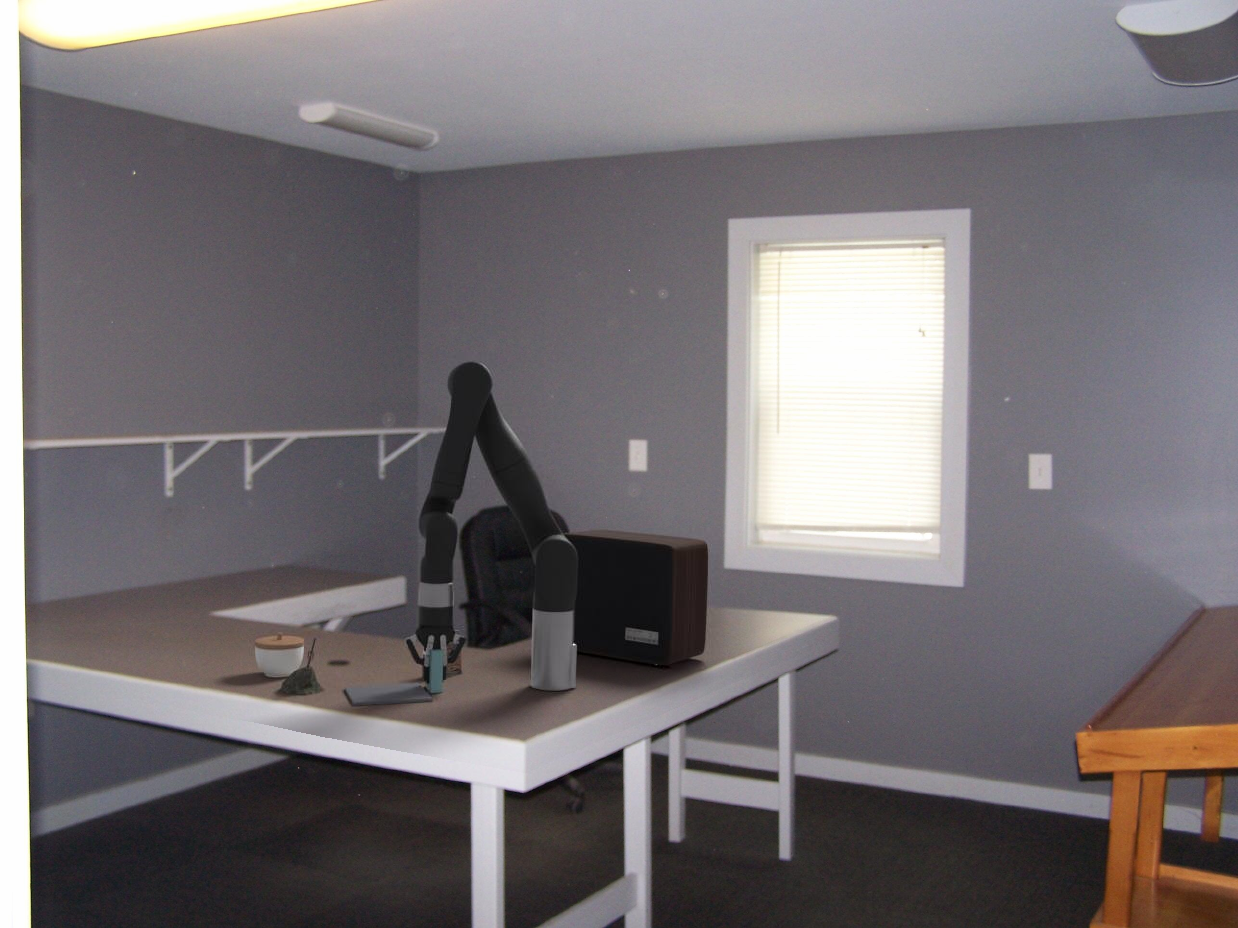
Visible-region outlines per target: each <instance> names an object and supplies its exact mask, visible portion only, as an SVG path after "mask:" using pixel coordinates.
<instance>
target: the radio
mask: <svg viewBox="0 0 1238 928" xmlns="http://www.w3.org/2000/svg"><path fill="white" fill-rule="evenodd" d="M562 533H563V532H562ZM563 534H564V536H565V537H566V538H567V540H568V541H569V542H570V543H572V545H573V546H574V547H575V549H576V551H577V555H578V576H577V595H576V600H575V619H574V644H576V645H577V652H579V653H585V654H591V655H596V656H602V657H609V658H613V659H618V660H626V661H632V662H637V663H638V662H639V663H644V664H652V665H655V664H657V665H658V666H668V665H673V664H675V663H679V662H681V661H685V660H688V659H691V658H694V657H697V656H701V655H703V654H704V652H705V648H706V638H707V637H706V634H707V614H708V613H707V612H708V580H709V549H708V543H707V542H706V541H704V540H703V539H697V538H689V537H683V536H682V537H681V536H674V535H664V534H652V533H643V532H642V533H641V532H631V531H630V532H629V531H619V530H610V529H609V530H608V529H591V530H583V531H582V530H581V531H573V532H564V533H563Z"/></svg>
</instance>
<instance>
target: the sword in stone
mask: <svg viewBox="0 0 1238 928" xmlns="http://www.w3.org/2000/svg"><path fill="white" fill-rule="evenodd" d="M316 640H317V638H316V637H314V638H313V640H312V641H313V643H312V646H311V649H310V650H308V652H307V657H306V658H307V660H308V661H307V665H306V666H304V667H301V668H298V669H297V670H296V671H294V672H293V673H292V674H291V675H290V676H288V677H286V678H285V679H284V680H283V682H281V687H280V692H282V693H284V694H287V695H296V696H311V695H317V694H319V693H322V692H323V691H325V689H324V688H323V687H322V685H321V684H320V683H319V682H318V680H317V677H316V674H315V673H316V672H315V669H314V668H313V667H312V666H310V664H311V663H313V659H314V655H315V653H314V649H315V648H314V647H315V643H316Z"/></svg>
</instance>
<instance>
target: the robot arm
mask: <svg viewBox="0 0 1238 928" xmlns="http://www.w3.org/2000/svg"><path fill="white" fill-rule="evenodd" d="M493 384H494V381H493V377H492V373H491V372H490V370H489V369H488V368H487V366H486V365H484V364H483V363H480V362H479V361H474V360H473V361H466V362H462V363H460V364H459V365H457V366H455V367H454V368H453V369H452V370H451V372H450V373H449V375H448V378H447V391H448V393H449V395H450V411H449V415H448V421H447V424H446V429H445V432H444V435H443V439H442V441H441V443H440V447H439V449H438V453H437V457H436V460H435V463H434V467H433V473H432V476H431V480H430V481H431V482H430V485H429V486H430V488H429V491H428V492H427V496H426V497H425V500H424V503H423V505H422V508H421V511H420V513H419V517H418V518H419V519H418V529H419V534H420V535H421V536H422V538H424V539H425V547H424V555H423V556H422V558H421V561H420V569H419V576H420V577H419V588H418V597H417V603H418V606H417V607H418V608H417V628H416V630H415V633H414V634H413V635H411V636H409V637H408V636H406V637H404V639H403V642H404V643H405V646H406V648H407V650H408V651H409V652H408V653H410V656H411V657H412V659H413V661H414V662H415V664H417V665H421V667H422V669H421V678H422V681H424V683H426V684H429V681H430V667H429V665H430V656H431V650H432V649H441V650H443V680H442V684H444V681H446V680H447V676H446V668H447V665H448V664H449V663H454V662H455V661H456V659H457V657H458V655H459V653H460V651H461V649H462V650H463V647H464V645H465V643H466V642H467V639H466V637H465V636H463V635H461V634H460V635H458V634H456V633H455V628H454V611H455V609H454V608H455V607H454V604H455V603H454V602H455V596H454V595H455V591H454V559H455V554H456V550H457V549H456V548H457V543H458V535H459V533H458V532H459V531H458V530H459V528H458V522H457V520H456V518H455V517H454V516H453V512H454V509H455V506H456V502H457V501H458V500H459V499H461V497H462V495H463V491H464V487H465V484H466V483H465V482H466V478H467V473H468V469H469V464H470V459H471V454H472V451H473V450H472V448H473V443H474V440H476V443H477V445H478V448H479V452H480V453H481V456H482V458H483V460H484V462H485V464H486V468H487V469H488V471H489V473H490V476H491V478H492V480H493V482H494V484H495V486H496V488H497V490H498V491H499V494H500V496H501V497H502V499H503V500H504V502H505V504H506V506H507V507H508V508H509V510H510V512H511V513H512V514H513V516H514V517H515V518H516V520H517V522H518V524H519V526H520V528H521V530H522V532H523V534H524V537H525V540H526V542H527V545H528V548H529V550H530V554H531V557H532V560H533V563H534V565H535V567H534V569H535V572H534V574H535V575H534V576H535V577H534V593H533V597H532V626H531V627H532V628H531V632H532V633H531V659H530V660H531V661H530V662H531V663H530V665H531V667H530V669H531V670H530V671H531V672H530V687H531V688H533V689H536V690H540V691H557V692H558V691H566V690H570V689H575V688H576V687H577V685H576V684H577V682H576V681H577V655H578V654H577V653H578V651H577V645H576V644H574V619H575V600H576V595H577V576H578V555H577V551H576V549H575V547H574V546H573V545H572V543H570V542H569V541H568V540H567V538H566V537H565V536H564V534H563V532H562V531H563V530H561V528H560V527H559V525H558V523H557V522H556V520H555V518H554V517H553V514H552V512H551V510H550V508H549V506H548V503H547V502H548V501H547V499H546V495H545V493H544V489H543V486H542V483H541V481H540V478H539V474H538V473H537V470H536V469H535V466H534V464H533V461H532V460H531V457H530V456H529V454H528V452H527V450H526V449H525V446H524V445H523V444H522V442H521V441H520V439H519V438H518V436H517V435H516V434H515V432H514V431H513V430H512V428H511V426H510V425H509V424H508V422H507V421H506V420H505V419H504V416H503V414H502V413H501V411H500V408H499V406H498V403H497V401H496V399H495V397H494V394H493V391H492V390H493V386H494V385H493ZM453 637H454V643H455V644H454V646H453V648H452V650H451V652H450V654H449V656H448V657H447V648H446V647H447V646H448V644H449V643H450V642H451V640H452V639H453ZM417 640H418V641H419V643H420V644H421V647H422V648H423V649H422V657H420V655H419V653H418V650H417V648H416V646H417Z"/></svg>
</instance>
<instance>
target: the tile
mask: <svg viewBox="0 0 1238 928" xmlns="http://www.w3.org/2000/svg"><path fill="white" fill-rule="evenodd" d="M429 667H430V681H429V684H426V683H425V682H424V683H425V684H424V685H425V688H426V689H427V690H428V692H430V694H438V693H439V694H440V693H443V683H442V680H443V650H441V649H432V650H431V656H430V665H429ZM443 681H444V680H443Z"/></svg>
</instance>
